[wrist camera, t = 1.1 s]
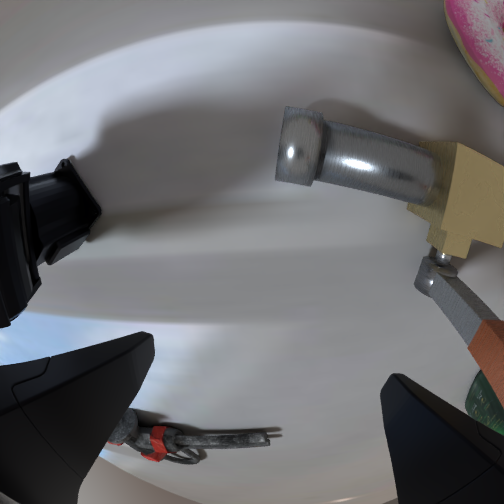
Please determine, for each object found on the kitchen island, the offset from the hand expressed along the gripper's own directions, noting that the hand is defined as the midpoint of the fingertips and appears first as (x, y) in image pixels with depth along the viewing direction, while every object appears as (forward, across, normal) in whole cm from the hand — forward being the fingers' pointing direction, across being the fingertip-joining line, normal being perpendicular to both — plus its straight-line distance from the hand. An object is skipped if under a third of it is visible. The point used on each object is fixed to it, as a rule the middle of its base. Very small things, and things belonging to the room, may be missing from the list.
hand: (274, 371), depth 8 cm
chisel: (+11, +11, +1) cm, 16 cm away
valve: (+13, -7, -31) cm, 34 cm away
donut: (+12, +16, +22) cm, 30 cm away
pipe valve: (+12, +8, +6) cm, 15 cm away
